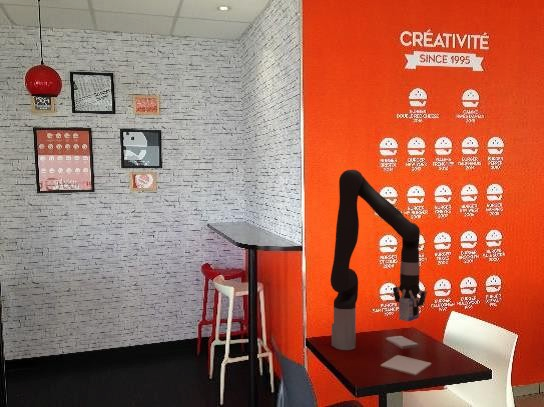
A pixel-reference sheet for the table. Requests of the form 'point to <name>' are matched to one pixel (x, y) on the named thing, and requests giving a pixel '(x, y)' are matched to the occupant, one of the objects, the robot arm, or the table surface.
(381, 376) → the table surface
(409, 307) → the medicine box
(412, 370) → the mat
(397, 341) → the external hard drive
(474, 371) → the table surface
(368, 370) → the table surface
